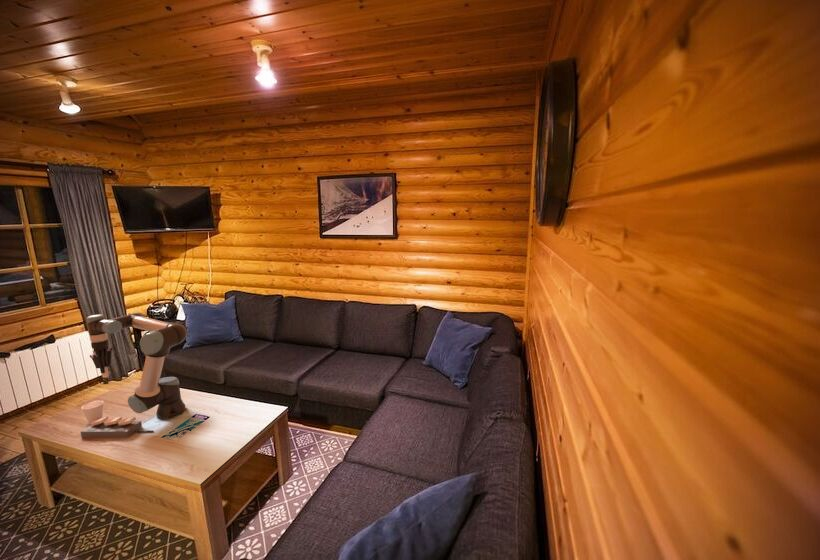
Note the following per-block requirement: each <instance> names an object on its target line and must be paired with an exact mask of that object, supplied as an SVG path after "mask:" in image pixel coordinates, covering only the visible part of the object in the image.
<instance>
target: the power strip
mask: <svg viewBox="0 0 820 560" xmlns="http://www.w3.org/2000/svg"><path fill="white" fill-rule="evenodd" d="M107 421H108V420H106V421H104V422H103V423H100V424H97V425H94V426H91V425H89V426H87V427H86V428H84V429H82V430H81V431H80V436H81V439H128V438H130V437H131V436H133V435H134V434H135V433H154V432H155V431H154V430H141V429H142V427H143V425H142V420H134V421H133V422H132V423H130V424H125V425H120V426H119V425H118V423H119V422H120V421H119V422H118V423H116V424H111V425H106V426H105V425H104V423H105V422H107Z"/></svg>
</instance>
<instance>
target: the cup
mask: <svg viewBox="0 0 820 560" xmlns="http://www.w3.org/2000/svg"><path fill="white" fill-rule="evenodd" d="M103 408H104V400H99V399H98V400H94V401H91V402H87V403H85V404H84V405H82V406H81V407H80V409H81V410H82V412H83V414H84V416H85V418H86V421H87V423H88V424H91V423H92V422H94V421H95V420H97V419H101V418H103V411H104V409H103Z"/></svg>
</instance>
